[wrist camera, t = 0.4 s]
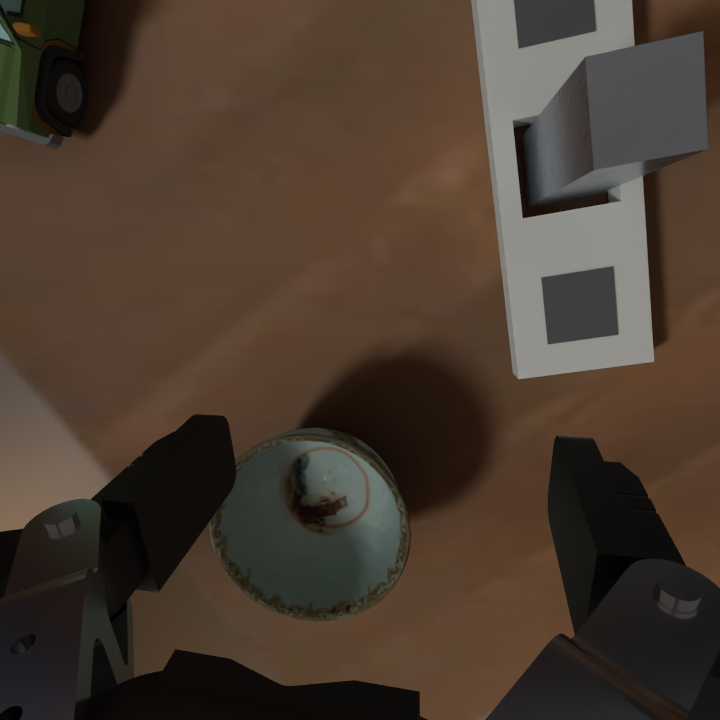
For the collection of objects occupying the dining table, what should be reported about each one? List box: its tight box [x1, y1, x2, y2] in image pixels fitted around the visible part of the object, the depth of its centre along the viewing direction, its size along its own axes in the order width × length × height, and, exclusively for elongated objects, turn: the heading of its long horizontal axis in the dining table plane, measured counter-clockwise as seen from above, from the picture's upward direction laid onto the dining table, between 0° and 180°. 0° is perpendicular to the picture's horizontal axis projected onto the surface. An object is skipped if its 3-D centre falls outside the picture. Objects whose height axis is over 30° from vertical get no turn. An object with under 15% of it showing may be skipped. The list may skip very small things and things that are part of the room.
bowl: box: [209, 428, 411, 621], centre depth 35 cm, size 14×13×8 cm
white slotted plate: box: [471, 0, 654, 379], centre depth 32 cm, size 28×9×2 cm, turn 9°
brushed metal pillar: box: [520, 31, 708, 208], centre depth 26 cm, size 5×5×13 cm
